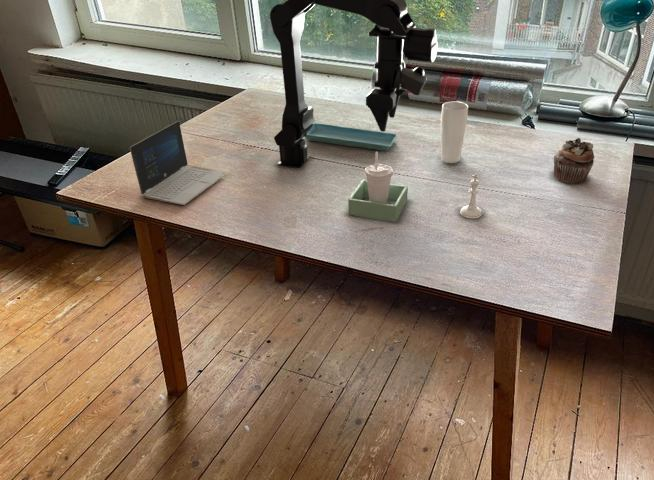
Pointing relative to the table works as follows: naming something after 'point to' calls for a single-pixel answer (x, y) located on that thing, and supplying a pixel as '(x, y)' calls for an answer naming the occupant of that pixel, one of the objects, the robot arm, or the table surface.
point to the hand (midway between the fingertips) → (387, 124)
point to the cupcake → (573, 161)
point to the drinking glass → (453, 130)
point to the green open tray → (375, 208)
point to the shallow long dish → (351, 136)
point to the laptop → (169, 168)
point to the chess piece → (472, 201)
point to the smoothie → (378, 181)
